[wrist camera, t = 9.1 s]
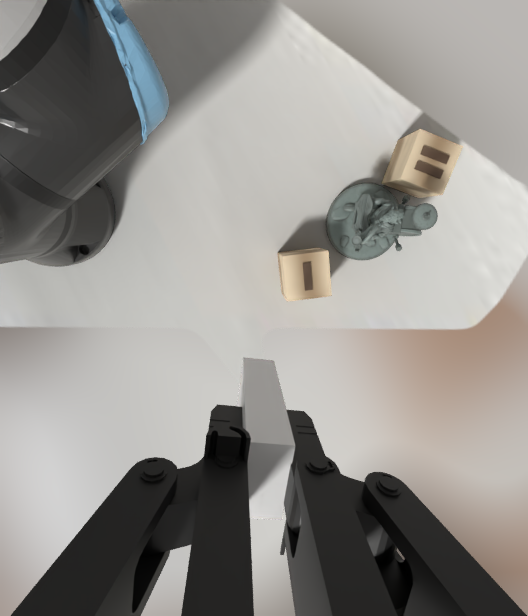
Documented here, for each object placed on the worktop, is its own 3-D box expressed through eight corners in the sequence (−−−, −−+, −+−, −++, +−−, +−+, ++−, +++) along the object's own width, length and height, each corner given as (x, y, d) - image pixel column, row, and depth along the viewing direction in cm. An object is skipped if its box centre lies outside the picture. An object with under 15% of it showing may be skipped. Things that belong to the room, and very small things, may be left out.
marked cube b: (381, 183, 48) (401, 178, 42) (397, 140, 47) (420, 128, 41) (418, 198, 49) (443, 194, 43) (435, 155, 48) (464, 146, 42)
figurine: (331, 180, 48) (361, 166, 36) (405, 188, 49) (457, 177, 37) (321, 256, 50) (346, 266, 39) (391, 262, 51) (436, 274, 40)
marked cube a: (281, 292, 51) (287, 301, 45) (277, 252, 50) (282, 256, 44) (321, 287, 51) (331, 296, 45) (318, 247, 50) (328, 250, 44)
